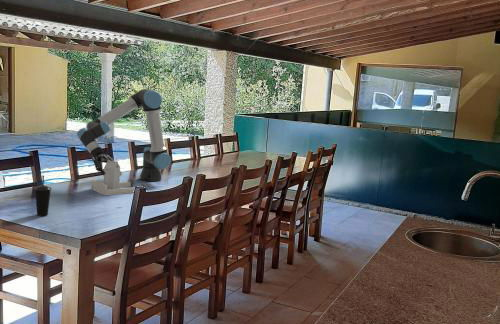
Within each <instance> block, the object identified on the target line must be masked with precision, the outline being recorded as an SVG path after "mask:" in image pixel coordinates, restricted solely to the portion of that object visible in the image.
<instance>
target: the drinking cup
mask: <svg viewBox="0 0 500 324" xmlns="http://www.w3.org/2000/svg"><path fill="white" fill-rule="evenodd" d="M41 183H42V185H39V186H37V187H36V186H35V187H34V193H35V194H34V195H35V204H36V205H35V206H36V216H37V215H38V216H37V217H47V216H48V215H49V208H50V207H49V206H50V199H51V190H52V187H50V186H48V185H45V184H44V183H45V175H42V180H41Z"/></svg>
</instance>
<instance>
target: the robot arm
mask: <svg viewBox="0 0 500 324" xmlns="http://www.w3.org/2000/svg"><path fill="white" fill-rule="evenodd" d="M162 103H163V97H162V95H161V94H160V92H158V91H157V90H154V89H147V88H143V89H141V90H139V91H137V92H136V93H134V94H132V95H130V96H129V97H128V99H127V100H125V101H124V102H122V103H120V104H118V105H117V106H116V107H114V108H112V109H111V110H109V111H107V112H105V113H104V114H103V115H101V116H99V117H98V118H96V119H94V120H91V121H88V122H87V124H86V125H85V127H81V128H80V129H79V130H78V131H77V132H76V136H77V138H78V139H79V141H80V142H81V143H82V145H83V147H85V149H86V150H87V151H88V152H89V154H90V155H91V156H90V157H92V158H91V160H92V162H93V165H94V167H95V170H96V172H98V173H101V174H102V176H103V178H104V177H105V178H106V180H107V179H109V178H110V176H109V175H108V173H107V172H106V171H105V169H104V168H103V163H104V164H106V163H107V160H109V161H115V160H114V159H113V158H112V157H110V155H109V154H108V153H106V154H104V150H103V148H102V147H101V145H100V143H98V142H97V139H99V138H101V137H102V136H104V135H106V134H107V133H109V132H110V131H111V128H110V125H112V123H115V122H116V121H118V120H120V119H121V118H123V117H124V116H126V115H127V114H129V113H131V112H132V111H134V110H138V109H140V108H142V111H143V113H145V114H146V120H147V121H146V122H147V129H148V133H149V141H150V145H151V146H150V147H145V148H144V149H143V157H142V159H143V160H142V169H141V173H140V175H139V180H141V181H145V182H160V181H162V175H161V171H160V170H165V169H167V168H168V167H169V166H170V164H171V162H172V157H171V156H170V155H169V154H168V148H167V147H166V146H165V143H164V138H163V137H164V136H163V131H162V124H161V117H160V111H161V107H162V106H161V105H162ZM122 175H123V173H122V171H121V170H120V177H121V176H122Z"/></svg>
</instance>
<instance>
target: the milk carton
mask: <svg viewBox="0 0 500 324" xmlns="http://www.w3.org/2000/svg"><path fill="white" fill-rule="evenodd" d="M103 169H105V171H106V172H107V173H108V175H109V176H110V178H109V179H107V180H106V178H105V177H104V176H103V183H104V184H106V185H107V189H120V187H119V182H121V181H120V177H121V176H120V171H121V166H120V164H119V161H116V160H114V161H109V160H107V163H105V165H104V168H103Z"/></svg>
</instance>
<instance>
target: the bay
mask: <svg viewBox="0 0 500 324" xmlns="http://www.w3.org/2000/svg"><path fill="white" fill-rule="evenodd" d="M133 183H134V178H129V181H119V189H107V185H106V184H104V182H101V181H98V180H96V179H91V190H93V191H95V192H97V193H99V194H101V195H103V196H109V195H121V194H122V195H123V194H134V193H133V191H134V188H135V187H136V186H134V187H133ZM141 185H142V186H143V187H145V188H146V183H142V184H141ZM142 186H141V187H142Z"/></svg>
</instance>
